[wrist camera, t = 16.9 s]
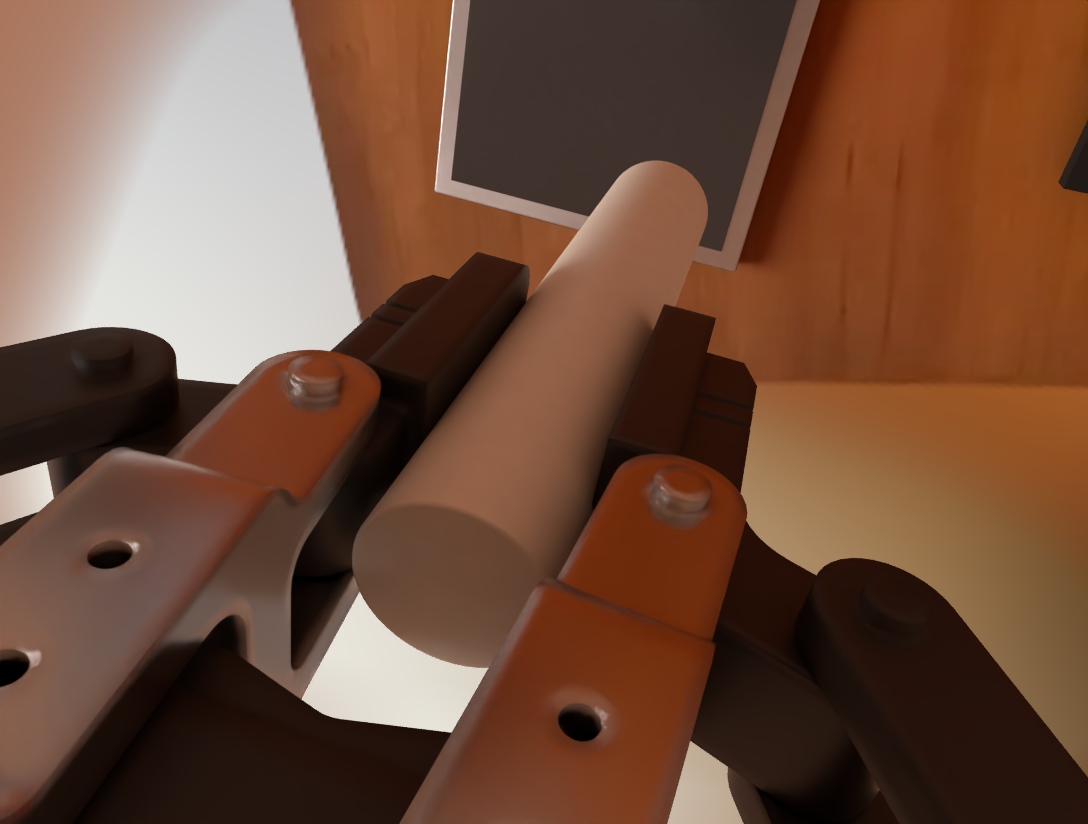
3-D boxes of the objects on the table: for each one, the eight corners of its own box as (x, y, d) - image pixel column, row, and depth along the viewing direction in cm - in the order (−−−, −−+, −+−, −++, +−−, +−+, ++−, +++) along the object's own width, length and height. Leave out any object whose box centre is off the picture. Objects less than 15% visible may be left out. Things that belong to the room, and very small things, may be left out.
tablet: (443, 185, 34) (432, 193, 33) (479, -175, 27) (467, -178, 27) (737, 264, 32) (734, 274, 31) (852, -102, 26) (852, -102, 25)
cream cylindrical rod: (614, 221, 19) (347, 629, 8) (633, 130, 18) (352, 475, 7) (703, 244, 18) (537, 695, 8) (728, 152, 17) (571, 544, 7)
